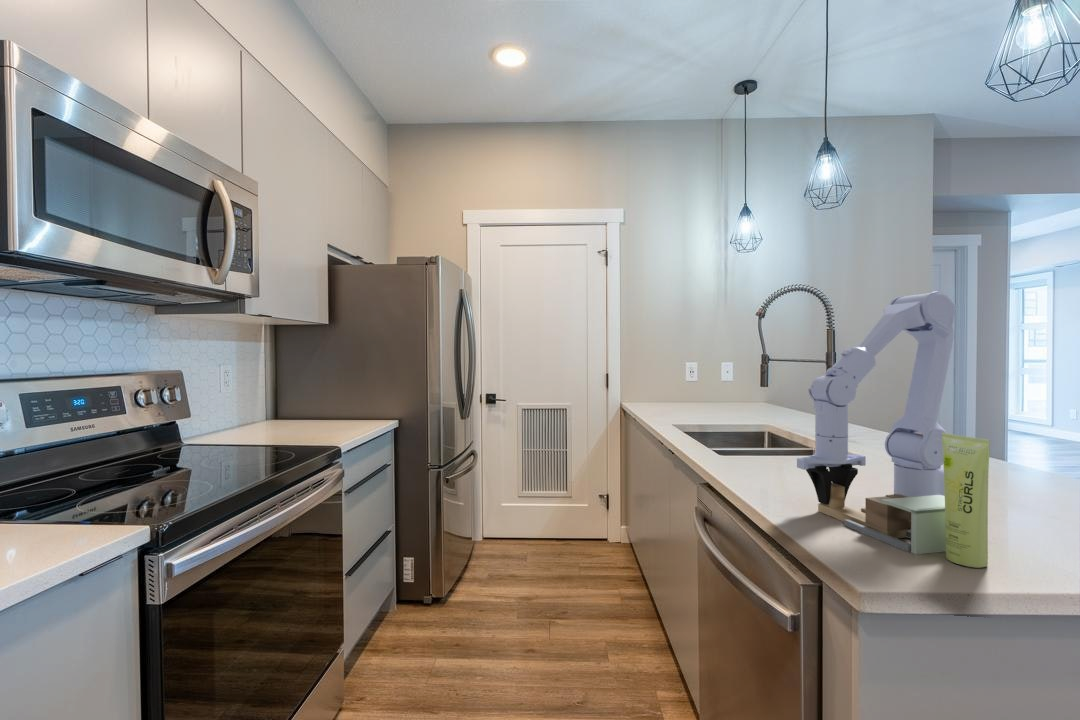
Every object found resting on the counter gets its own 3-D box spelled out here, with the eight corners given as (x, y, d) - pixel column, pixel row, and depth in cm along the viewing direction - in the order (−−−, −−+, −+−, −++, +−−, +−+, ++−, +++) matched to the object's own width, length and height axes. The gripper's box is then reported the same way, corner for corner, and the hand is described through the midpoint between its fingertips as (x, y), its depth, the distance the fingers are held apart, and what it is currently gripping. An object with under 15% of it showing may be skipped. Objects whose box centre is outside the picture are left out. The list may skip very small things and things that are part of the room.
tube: (940, 562, 78) (940, 435, 78) (941, 552, 82) (941, 431, 81) (989, 572, 74) (990, 439, 74) (988, 561, 78) (988, 435, 78)
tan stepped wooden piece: (834, 509, 104) (835, 482, 104) (906, 537, 88) (906, 506, 88) (818, 510, 103) (818, 484, 103) (887, 539, 87) (887, 507, 87)
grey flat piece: (899, 519, 97) (900, 511, 97) (970, 545, 85) (970, 535, 84) (844, 525, 95) (844, 516, 95) (907, 551, 82) (908, 542, 82)
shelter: (939, 533, 90) (939, 494, 90) (977, 547, 83) (977, 505, 83) (881, 539, 87) (881, 499, 87) (915, 554, 81) (916, 510, 81)
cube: (886, 520, 92) (886, 496, 92) (908, 529, 88) (909, 503, 88) (865, 522, 91) (865, 497, 91) (887, 531, 87) (887, 505, 87)
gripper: (846, 430, 107) (845, 494, 107) (786, 433, 104) (786, 499, 104) (874, 436, 100) (874, 504, 101) (811, 439, 97) (811, 509, 98)
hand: (831, 502), depth 102 cm, fingers closed on tan stepped wooden piece, 3 cm apart
